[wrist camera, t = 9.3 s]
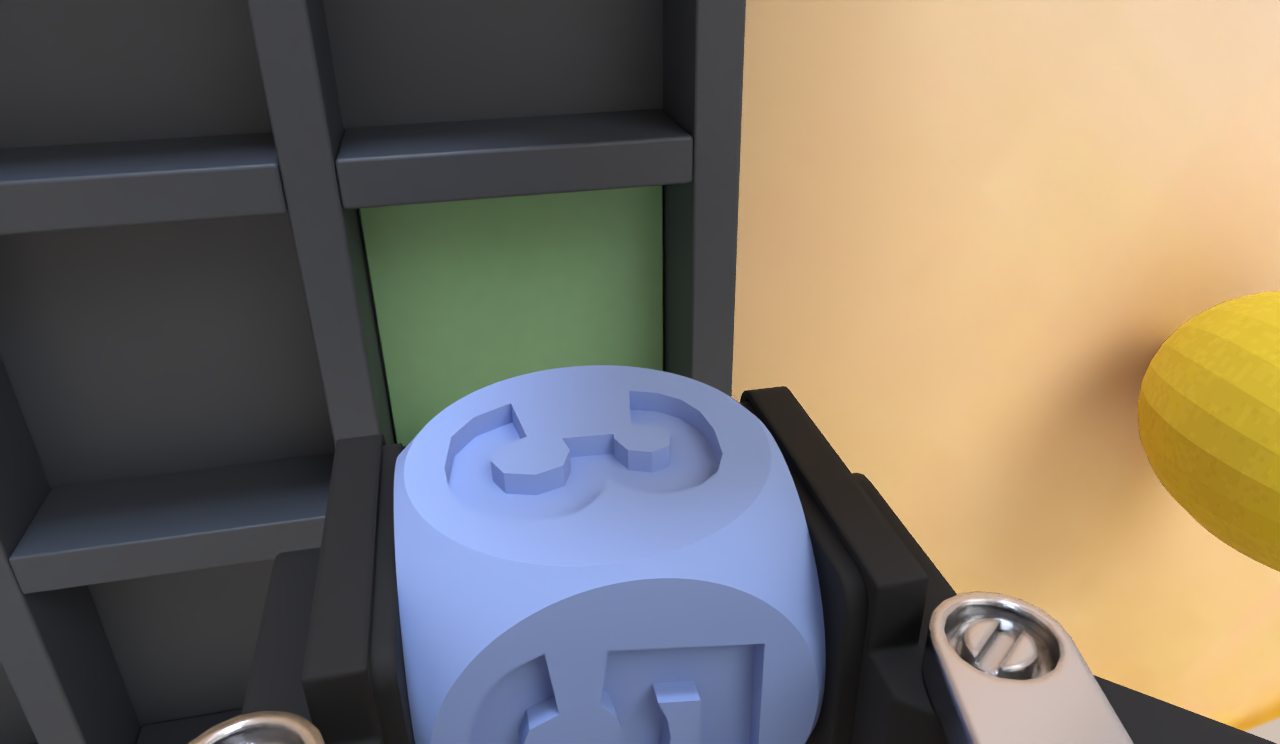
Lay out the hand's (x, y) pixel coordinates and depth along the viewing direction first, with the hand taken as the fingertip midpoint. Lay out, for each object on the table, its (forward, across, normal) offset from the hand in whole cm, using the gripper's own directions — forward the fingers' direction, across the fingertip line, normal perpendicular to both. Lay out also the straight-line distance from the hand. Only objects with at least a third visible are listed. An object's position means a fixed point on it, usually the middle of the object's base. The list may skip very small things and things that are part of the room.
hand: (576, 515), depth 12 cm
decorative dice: (+1, 0, 0) cm, 1 cm away
